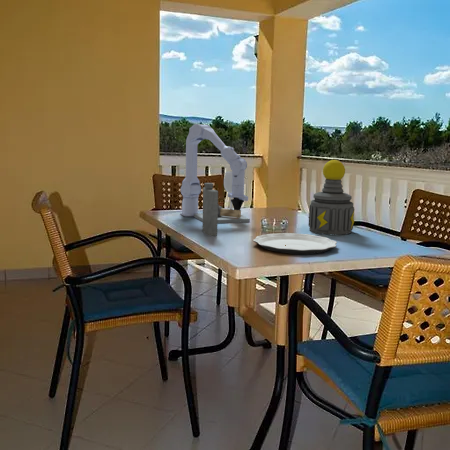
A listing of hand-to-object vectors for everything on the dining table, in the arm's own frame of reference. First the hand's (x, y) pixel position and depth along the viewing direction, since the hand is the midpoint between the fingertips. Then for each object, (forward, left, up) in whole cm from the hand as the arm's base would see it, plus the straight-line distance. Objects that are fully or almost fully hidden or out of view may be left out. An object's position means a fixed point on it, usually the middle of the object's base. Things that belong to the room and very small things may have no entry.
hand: (237, 214), depth 240 cm
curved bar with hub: (-3, -6, -1) cm, 7 cm away
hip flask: (+26, -22, -3) cm, 34 cm away
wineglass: (-22, +5, -3) cm, 22 cm away
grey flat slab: (-5, -6, -3) cm, 8 cm away
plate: (+58, +1, -3) cm, 58 cm away
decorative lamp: (+33, +30, -3) cm, 45 cm away
